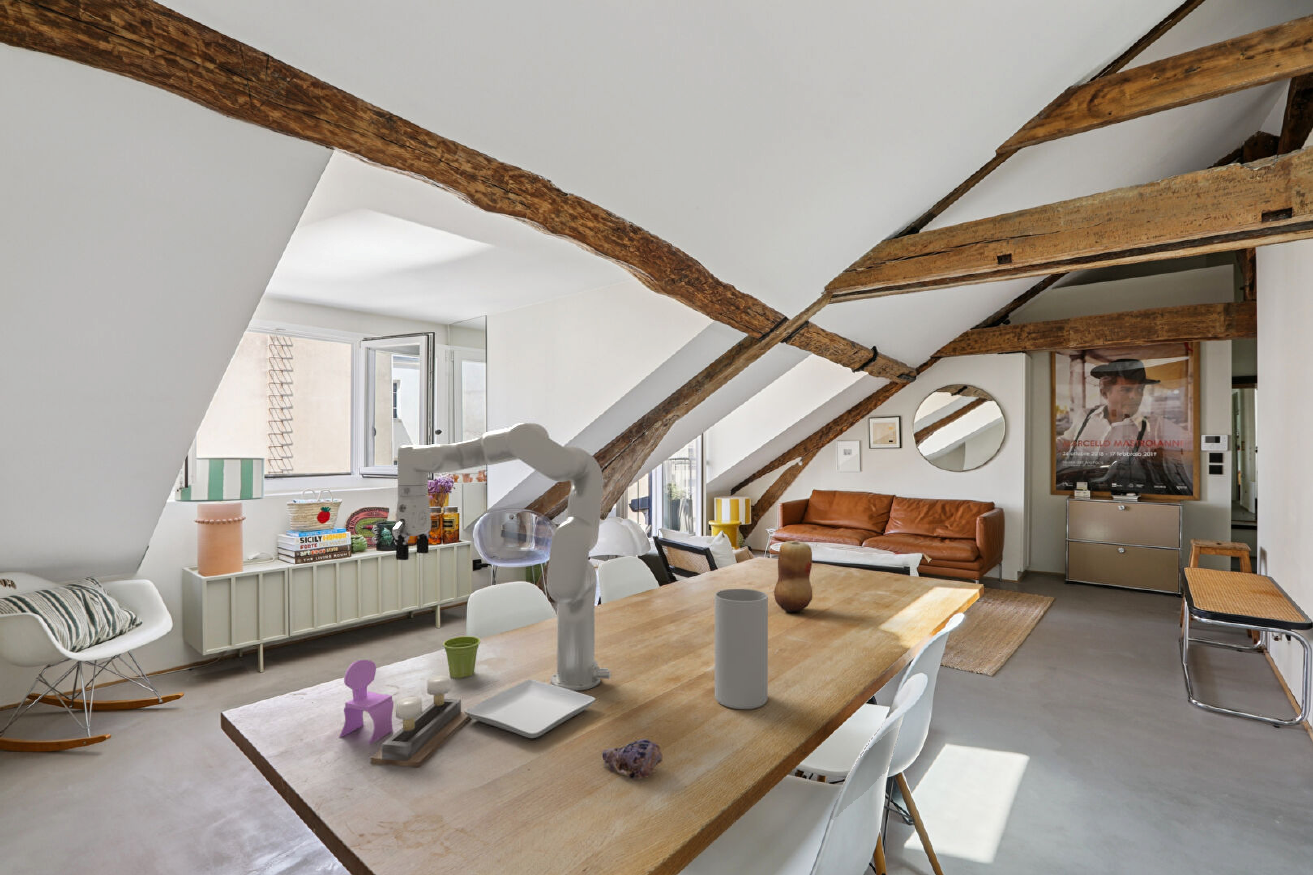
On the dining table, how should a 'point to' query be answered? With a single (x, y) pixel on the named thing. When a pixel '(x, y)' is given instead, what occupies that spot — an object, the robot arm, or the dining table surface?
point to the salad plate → (530, 708)
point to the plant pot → (461, 655)
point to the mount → (422, 736)
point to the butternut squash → (794, 576)
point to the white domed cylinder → (408, 711)
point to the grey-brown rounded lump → (634, 758)
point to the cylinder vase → (741, 648)
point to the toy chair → (366, 701)
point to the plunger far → (438, 688)
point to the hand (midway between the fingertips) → (412, 556)
